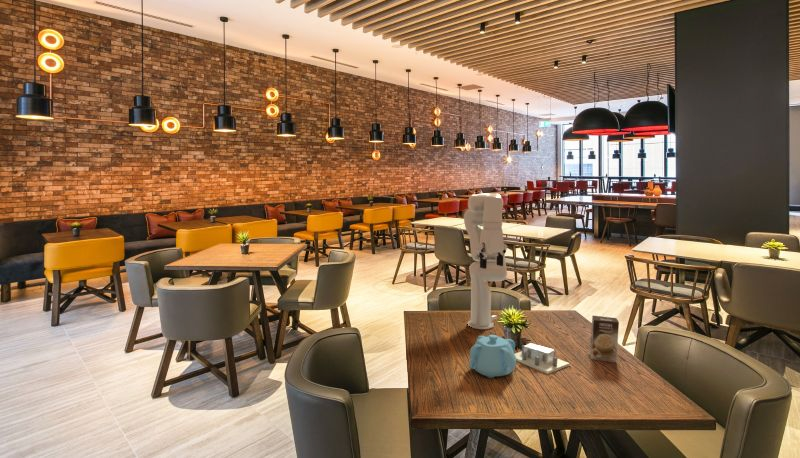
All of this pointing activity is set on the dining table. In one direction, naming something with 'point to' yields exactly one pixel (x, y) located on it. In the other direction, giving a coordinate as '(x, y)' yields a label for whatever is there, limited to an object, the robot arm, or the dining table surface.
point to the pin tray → (547, 369)
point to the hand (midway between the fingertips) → (491, 266)
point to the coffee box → (604, 338)
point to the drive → (539, 353)
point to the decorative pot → (493, 356)
